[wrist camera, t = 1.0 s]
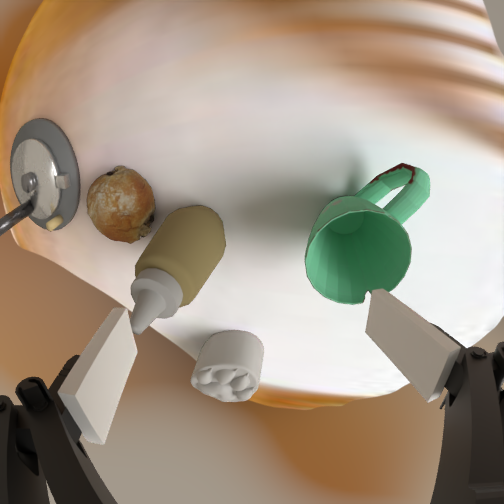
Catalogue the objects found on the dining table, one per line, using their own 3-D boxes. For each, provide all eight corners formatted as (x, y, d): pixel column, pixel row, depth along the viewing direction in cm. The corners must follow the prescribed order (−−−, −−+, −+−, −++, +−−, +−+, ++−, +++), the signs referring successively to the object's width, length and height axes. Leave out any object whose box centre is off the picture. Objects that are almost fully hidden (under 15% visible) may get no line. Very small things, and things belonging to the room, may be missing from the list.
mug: (348, 264, 34) (359, 319, 25) (287, 222, 32) (282, 271, 24) (423, 180, 26) (464, 214, 18) (363, 124, 25) (394, 136, 16)
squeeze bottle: (231, 257, 36) (186, 371, 21) (174, 248, 37) (108, 346, 22) (234, 200, 32) (175, 302, 17) (171, 193, 32) (81, 278, 17)
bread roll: (158, 160, 34) (119, 149, 27) (172, 232, 35) (133, 236, 27) (110, 184, 37) (71, 180, 30) (121, 248, 38) (81, 255, 30)
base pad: (10, 125, 29) (-6, 130, 26) (76, 111, 28) (57, 116, 24) (24, 221, 40) (11, 230, 36) (88, 235, 38) (73, 248, 35)
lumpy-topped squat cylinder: (195, 353, 49) (181, 390, 42) (224, 319, 43) (211, 361, 35) (241, 375, 51) (233, 412, 44) (278, 346, 44) (273, 389, 37)
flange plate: (13, 141, 29) (-30, 160, 21) (66, 133, 28) (11, 154, 20) (23, 212, 37) (-13, 238, 28) (76, 221, 36) (33, 256, 27)
